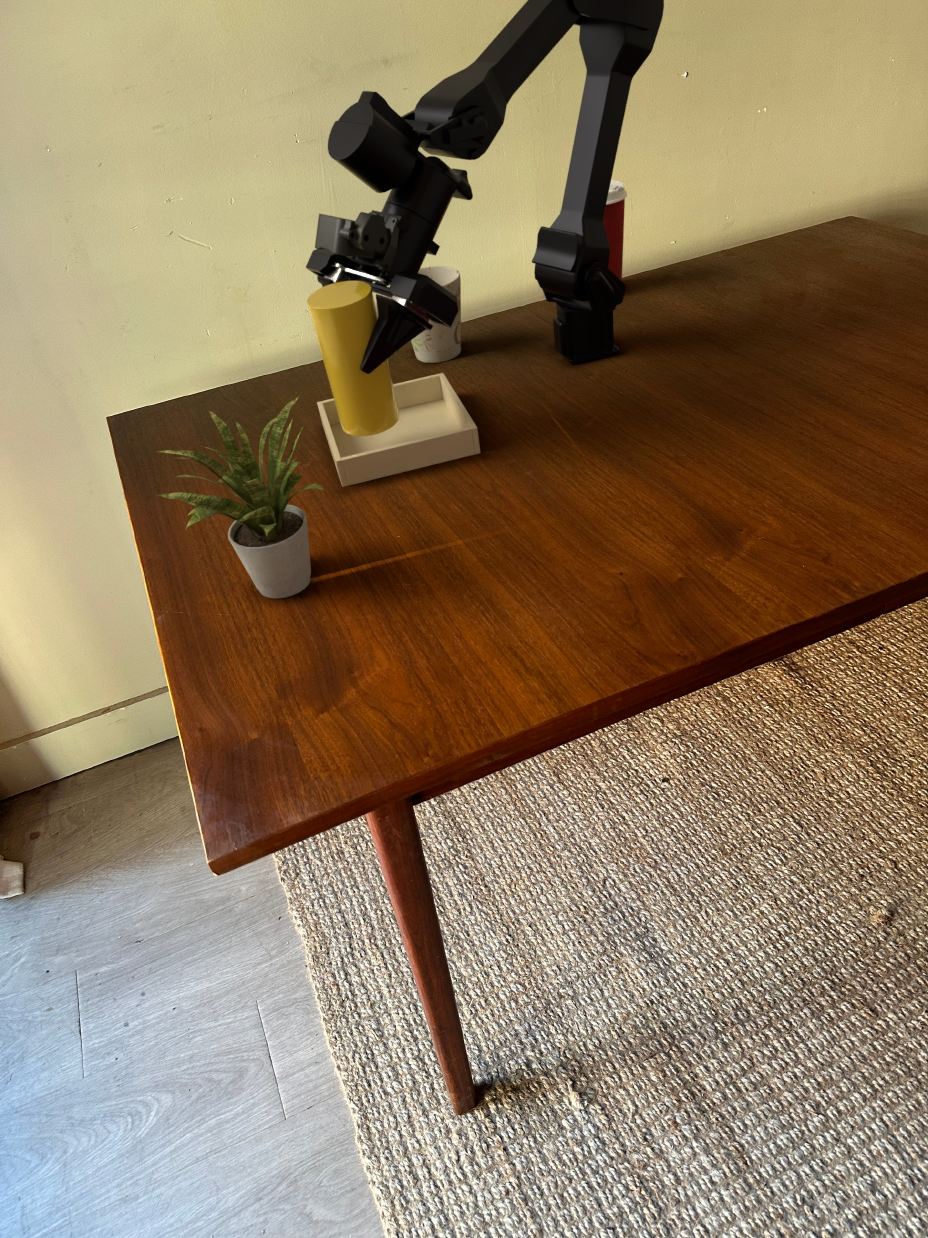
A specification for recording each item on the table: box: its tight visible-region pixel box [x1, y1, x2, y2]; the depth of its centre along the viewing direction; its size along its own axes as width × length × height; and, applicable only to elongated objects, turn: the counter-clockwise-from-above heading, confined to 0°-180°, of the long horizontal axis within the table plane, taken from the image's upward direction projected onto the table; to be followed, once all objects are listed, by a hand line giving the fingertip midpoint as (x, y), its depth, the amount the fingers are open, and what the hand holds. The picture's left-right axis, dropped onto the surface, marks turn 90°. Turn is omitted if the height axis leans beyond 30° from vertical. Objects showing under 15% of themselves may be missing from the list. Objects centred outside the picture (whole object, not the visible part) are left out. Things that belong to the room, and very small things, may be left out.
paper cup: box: [603, 179, 628, 282], centre depth 126 cm, size 8×8×14 cm
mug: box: [374, 265, 462, 364], centre depth 119 cm, size 8×13×10 cm, turn 78°
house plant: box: [154, 396, 326, 599], centre depth 81 cm, size 14×14×16 cm
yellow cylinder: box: [306, 281, 400, 436], centre depth 94 cm, size 6×6×14 cm
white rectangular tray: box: [316, 372, 481, 488], centre depth 102 cm, size 15×15×4 cm
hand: (344, 364), depth 93 cm, fingers closed on yellow cylinder, 6 cm apart
